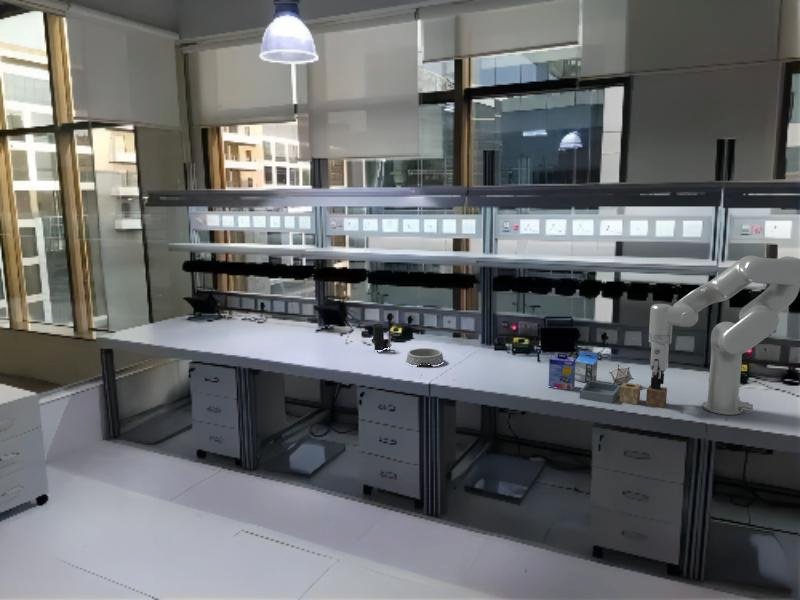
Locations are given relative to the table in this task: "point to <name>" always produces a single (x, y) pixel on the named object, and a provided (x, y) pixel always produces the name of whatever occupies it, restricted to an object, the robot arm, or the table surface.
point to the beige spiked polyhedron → (621, 375)
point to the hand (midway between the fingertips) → (657, 385)
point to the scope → (380, 338)
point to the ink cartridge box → (562, 372)
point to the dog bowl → (424, 356)
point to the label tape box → (586, 367)
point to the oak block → (630, 393)
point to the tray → (600, 392)
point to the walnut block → (656, 397)
